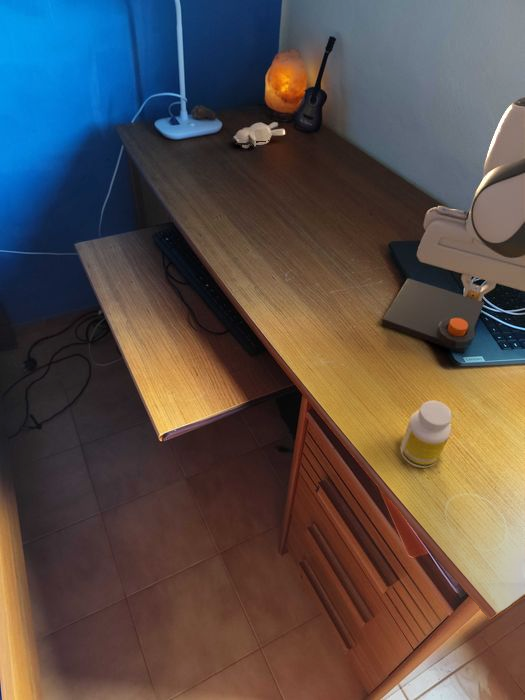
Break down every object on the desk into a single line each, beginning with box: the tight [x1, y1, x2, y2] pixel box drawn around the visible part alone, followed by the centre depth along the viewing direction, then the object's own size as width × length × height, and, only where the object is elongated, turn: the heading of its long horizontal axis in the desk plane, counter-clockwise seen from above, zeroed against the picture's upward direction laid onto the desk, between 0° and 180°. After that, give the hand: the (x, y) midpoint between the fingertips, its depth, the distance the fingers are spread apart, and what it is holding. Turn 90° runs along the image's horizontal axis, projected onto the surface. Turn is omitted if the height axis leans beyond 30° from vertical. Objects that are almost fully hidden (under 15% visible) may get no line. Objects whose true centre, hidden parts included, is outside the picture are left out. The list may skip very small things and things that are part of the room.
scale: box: [381, 277, 486, 354], centre depth 86 cm, size 16×15×3 cm
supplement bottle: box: [400, 400, 453, 469], centre depth 64 cm, size 5×5×10 cm
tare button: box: [447, 318, 468, 337], centre depth 80 cm, size 3×3×2 cm
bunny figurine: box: [233, 121, 286, 149], centre depth 142 cm, size 10×5×15 cm
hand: (472, 296), depth 75 cm, fingers closed
